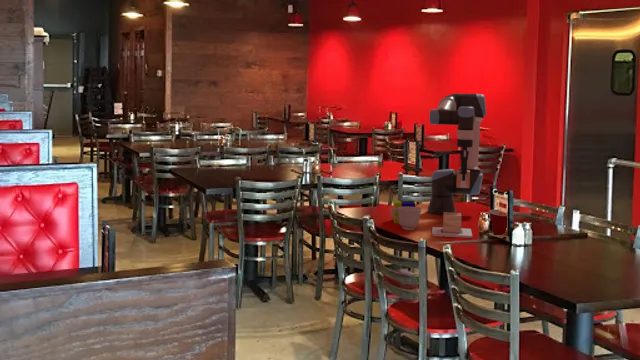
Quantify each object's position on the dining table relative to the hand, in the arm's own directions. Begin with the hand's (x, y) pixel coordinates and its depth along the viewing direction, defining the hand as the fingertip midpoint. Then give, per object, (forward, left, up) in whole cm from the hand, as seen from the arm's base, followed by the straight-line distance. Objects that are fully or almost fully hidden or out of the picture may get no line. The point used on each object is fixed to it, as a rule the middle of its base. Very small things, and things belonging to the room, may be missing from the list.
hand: (462, 186), depth 393 cm
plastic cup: (+4, +29, -20) cm, 35 cm away
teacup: (+29, -8, -20) cm, 36 cm away
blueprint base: (+17, +11, -20) cm, 28 cm away
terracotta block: (0, 0, 0) cm, 0 cm away
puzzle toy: (+16, -24, -20) cm, 35 cm away
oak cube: (+17, +11, -19) cm, 27 cm away
